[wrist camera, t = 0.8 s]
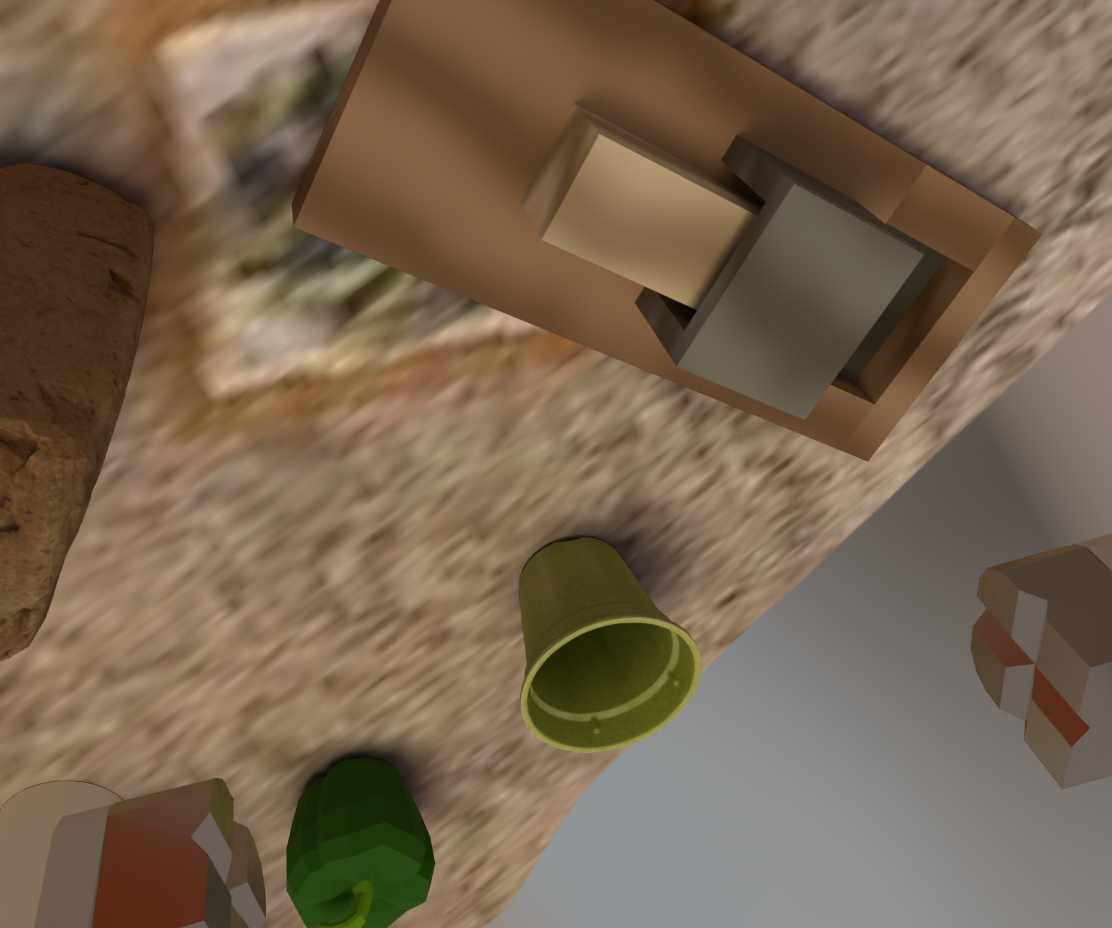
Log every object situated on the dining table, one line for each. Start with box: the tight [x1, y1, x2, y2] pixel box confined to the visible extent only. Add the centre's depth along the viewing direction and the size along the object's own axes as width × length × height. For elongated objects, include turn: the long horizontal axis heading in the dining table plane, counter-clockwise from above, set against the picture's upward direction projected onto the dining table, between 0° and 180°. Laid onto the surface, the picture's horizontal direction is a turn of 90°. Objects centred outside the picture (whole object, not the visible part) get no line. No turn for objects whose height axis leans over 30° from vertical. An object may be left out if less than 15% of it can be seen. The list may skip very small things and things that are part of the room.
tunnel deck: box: [292, 0, 1042, 461], centre depth 45 cm, size 14×32×8 cm, turn 61°
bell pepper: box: [287, 757, 435, 928], centre depth 61 cm, size 8×8×10 cm
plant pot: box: [519, 537, 702, 753], centre depth 56 cm, size 9×9×9 cm
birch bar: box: [521, 104, 765, 310], centre depth 45 cm, size 4×14×4 cm, turn 61°
